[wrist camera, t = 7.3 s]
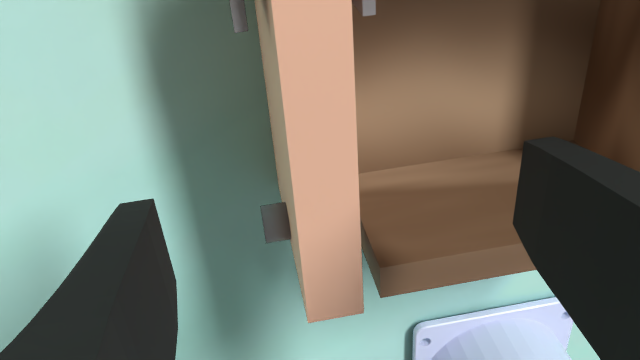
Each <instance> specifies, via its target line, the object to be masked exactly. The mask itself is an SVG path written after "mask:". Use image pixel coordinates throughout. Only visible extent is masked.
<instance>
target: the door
mask: <svg viewBox="0 0 640 360" xmlns="http://www.w3.org/2000/svg"><path fill="white" fill-rule="evenodd" d="M254 1H255V8H256V16H257V24H258V31H259V39H260V47H261V54H262V62H263V70H264V77H265V85H266V93H267V101H268V108H269V116H270V124H271V131H272V139H273V147H274V154H275V162H276V170H277V177H278V185H279V191H280V195H281V200H282V203H276V204H269V205H263V206H260V207H261V213H262V220H263V226H264V233H265V239H266V243H271V242H277V241H283V240H289V239H290V242H291V246H292V251H293V255H294V260H295V265H296V269H297V274H298V279H299V283H300V288H301V292H302V297H303V302H304V306H305V311H306V316H307V320H308V323H312V322H317V321H323V320H328V319H333V318H339V317H344V316H350V315H355V314H361V313H364V304H363V278H362V252H361V227H360V201H359V175H358V150H357V124H356V98H355V73H354V47H353V21H352V0H254Z"/></svg>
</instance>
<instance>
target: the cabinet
mask: <svg viewBox="0 0 640 360" xmlns="http://www.w3.org/2000/svg"><path fill="white" fill-rule="evenodd" d="M229 2H230V8H231V14H232V20H233V26H234V32H235V33H236V32H244V31H248V26H247V19H246V11H245V4H244V0H229ZM352 21H353V47H354V73H355V98H356V124H357V150H358V175H359V201H360V227H361V247H362V249H363V252H364V255H365V257H366V260H367V263H368V265H369V268H370V271H371V274H372V276H373V279H374V282H375V284H376V287H377V290H378V292H379V295H380V298H383V297H388V296H394V295H399V294H405V293H410V292H416V291H421V290H427V289H432V288H438V287H443V286H449V285H454V284H460V283H466V282H471V281H477V280H482V279H488V278H493V277H499V276H504V275H510V274H515V273H521V272H526V271H532V270H537V269H536V268H535V266H534V265H533V263H532V261H531V259H530V257H529V256H528V254H527V252H526V250H525V248H524V246H523V244H522V242H521V240H520V238H519V236H518V234H517V232H516V230H515V228H514V226H513V224H512V223H513V216H514V209H515V202H516V195H517V187H518V180H519V173H520V166H521V159H522V152H523V145H524V141H527V140H533V139H540V138H546V137H557V138H560V139H563V140H566V141H568V142H571V143H573V144H576V145H578V146H581V147H583V148H586V149H588V150H590V151H593V152H595V153H597V154H600V155H602V156H604V157H607V158H609V159H611V160H613V161H616V162H618V163H620V164H623V165H625V166H627V167H629V168H632V169H634V170H636V171H639V172H640V0H352Z"/></svg>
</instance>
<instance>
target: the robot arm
mask: <svg viewBox="0 0 640 360" xmlns="http://www.w3.org/2000/svg"><path fill="white" fill-rule="evenodd" d="M512 224H513V226H514V228H515V230H516V232H517V234H518V236H519V238H520V240H521V242H522V244H523V246H524V248H525V250H526V252H527V254H528V256H529V257H530V259H531V261H532V263H533V265H534V266H535V268H536V269H537V271H538V272H539V274H540V275H541V276H542V278H543V279H544V281H545V282H546V284H547V285H548V286H549V288H550V289H551V291H552V292H553V293H554V295H555V296H556V297H553V298H548V299H542V300H537V301H532V302H526V303H521V304H515V305H510V306H505V307H499V308H494V309H489V310H483V311H478V312H473V313H467V314H462V315H457V316H451V317H446V318H441V319H435V320H430V321H425V322H421V323H419V324H417V325H416V326H415V328H414V330H413V355H412V360H572V359H571V358H570V356H569V355H568V353H567V352H566V350H567V346H568V342H569V338H570V333H571V329H572V325H573V321H574V323H575V324H576V326H577V327H578V328H579V330H580V331H581V332H582V334H583V335H584V337H585V338H586V339H587V341H588V342H589V344H590V345H591V346H592V348H593V349H594V351H595V352H596V353H597V355H598V356H599V358H600V360H640V172H639V171H636V170H634V169H632V168H629V167H627V166H625V165H623V164H620V163H618V162H616V161H613V160H611V159H609V158H607V157H604V156H602V155H600V154H597V153H595V152H593V151H590V150H588V149H586V148H583V147H581V146H578V145H576V144H573V143H571V142H568V141H566V140H563V139H560V138H557V137H546V138H540V139H533V140H527V141H524V145H523V152H522V159H521V166H520V173H519V180H518V187H517V195H516V202H515V209H514V216H513V223H512ZM177 332H178V317H177V289H176V279H175V275H174V271H173V268H172V264H171V260H170V257H169V253H168V250H167V246H166V242H165V239H164V235H163V232H162V228H161V224H160V221H159V217H158V213H157V210H156V206H155V203H154V199H147V200H141V201H134V202H128V203H122V204H119V205H118V207H117V208H116V209H115V211H114V212H113V213H112V215H111V216H110V218H109V219H108V220H107V222H106V223H105V225H104V226H103V228H102V229H101V231H100V232H99V233H98V235H97V236H96V238H95V239H94V241H93V242H92V243H91V245H90V246H89V248H88V249H87V250H86V252H85V253H84V255H83V256H82V257H81V259H80V260H79V261H78V263H77V264H76V265H75V267H74V268H73V269H72V271H71V272H70V273H69V275H68V276H67V277H66V279H65V280H64V281H63V283H62V284H61V285H60V287H59V288H58V289H57V290H56V291H55V293H54V294H53V295H52V296H51V297H50V299H49V300H48V301H47V302H46V303H45V305H44V306H43V307H42V308H41V309H40V311H39V312H38V313H37V314H36V316H35V317H34V318H33V319H32V320H31V321H30V322H29V324H28V325H27V326H26V327H25V328H24V329H23V330H22V331H21V332H20V333H19V334H18V335H17V336H16V338H15V339H14V340H13V341H12V342H11V343H10V344H9V345H8V346H7V347H6V348H5V349H4V350H3V351H2V352H1V353H0V360H175V355H176V344H177ZM425 338H426V339H425Z"/></svg>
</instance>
